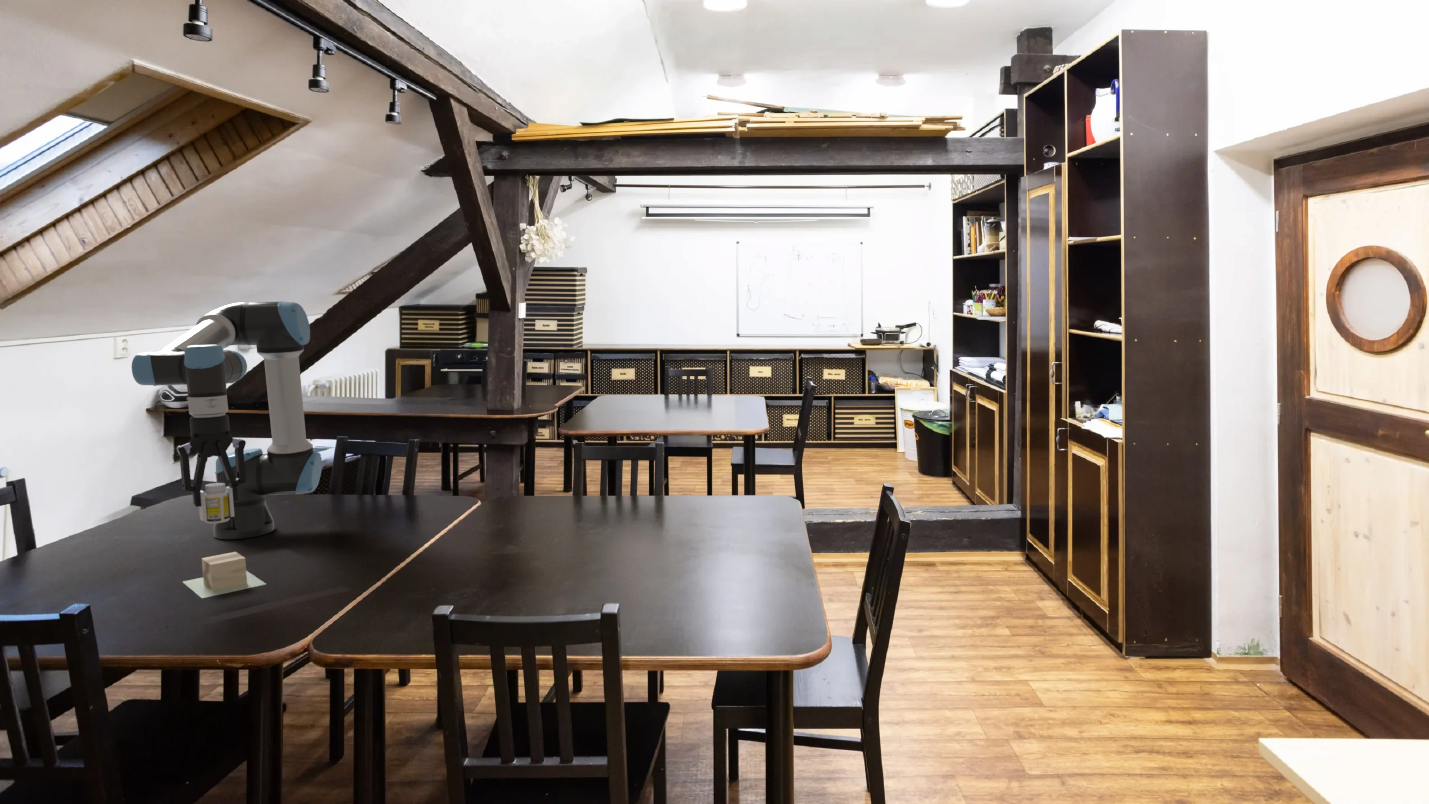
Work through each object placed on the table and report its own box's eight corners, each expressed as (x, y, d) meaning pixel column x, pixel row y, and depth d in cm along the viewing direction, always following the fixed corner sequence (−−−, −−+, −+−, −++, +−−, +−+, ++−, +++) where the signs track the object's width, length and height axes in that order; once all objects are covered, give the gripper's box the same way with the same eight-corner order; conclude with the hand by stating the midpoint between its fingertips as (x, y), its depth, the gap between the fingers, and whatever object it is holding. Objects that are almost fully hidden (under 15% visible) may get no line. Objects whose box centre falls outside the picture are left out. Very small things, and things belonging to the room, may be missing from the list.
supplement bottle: (223, 517, 198) (221, 481, 197) (233, 520, 195) (231, 483, 194) (201, 522, 194) (198, 484, 193) (211, 525, 191) (208, 487, 191)
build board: (182, 586, 199) (182, 581, 199) (244, 573, 208) (244, 568, 208) (202, 603, 187) (201, 598, 187) (266, 589, 197) (266, 584, 196)
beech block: (203, 583, 197) (201, 558, 196) (237, 576, 202) (235, 551, 201) (212, 591, 192) (210, 564, 191) (247, 583, 197) (245, 557, 196)
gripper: (166, 420, 183) (175, 528, 186) (258, 412, 195) (265, 513, 198) (158, 417, 189) (167, 522, 191) (247, 409, 201) (255, 508, 204)
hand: (217, 517), depth 195 cm, fingers closed on supplement bottle, 5 cm apart
